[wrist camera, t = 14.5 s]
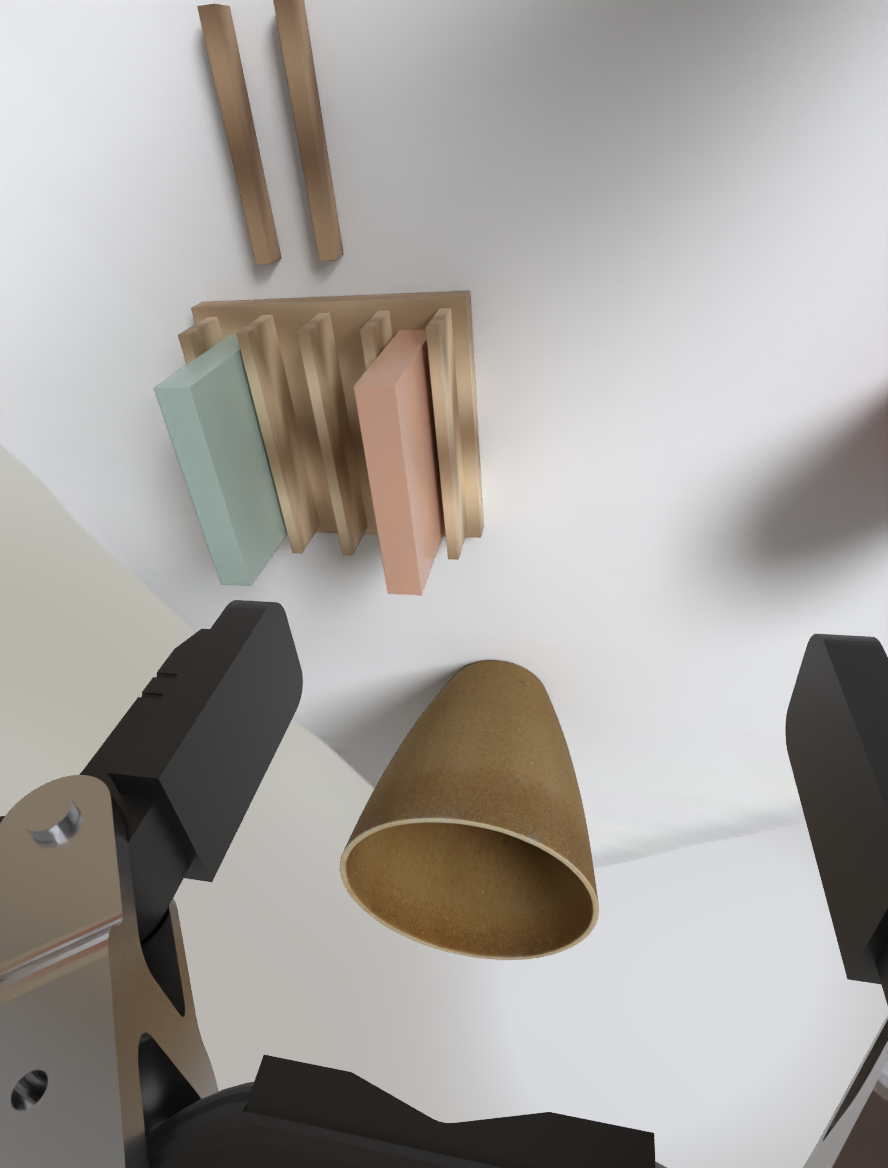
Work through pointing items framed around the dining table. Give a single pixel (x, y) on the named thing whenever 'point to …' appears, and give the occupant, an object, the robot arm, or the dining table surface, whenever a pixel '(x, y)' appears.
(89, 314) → the dining table surface
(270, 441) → the rack
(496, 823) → the plant pot
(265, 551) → the green plate
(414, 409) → the pink rectangular slab
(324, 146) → the stand rails
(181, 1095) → the robot arm
